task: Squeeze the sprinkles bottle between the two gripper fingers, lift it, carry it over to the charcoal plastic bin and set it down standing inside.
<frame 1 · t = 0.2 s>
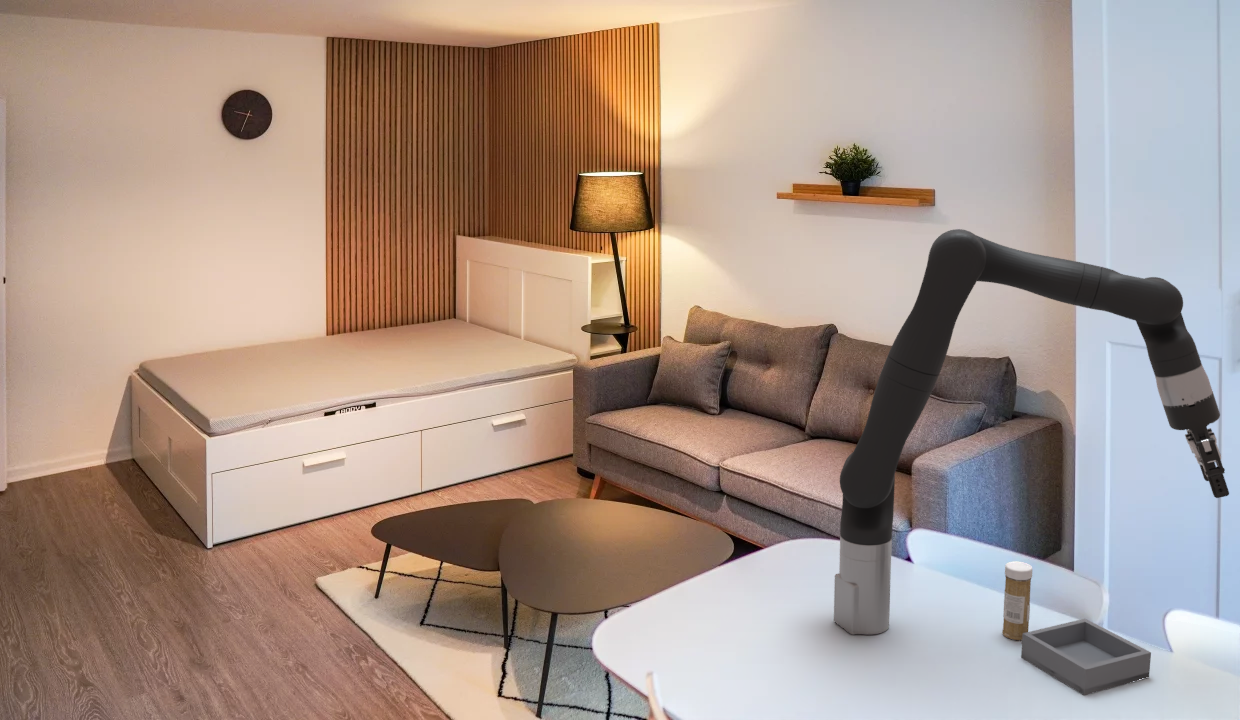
hand: (1217, 487, 172), 31 cm above the table, tool tilted 20°, fingers open, 8 cm apart
sprinkles bottle: (1015, 636, 190), on the table
bin: (1083, 667, 178), on the table
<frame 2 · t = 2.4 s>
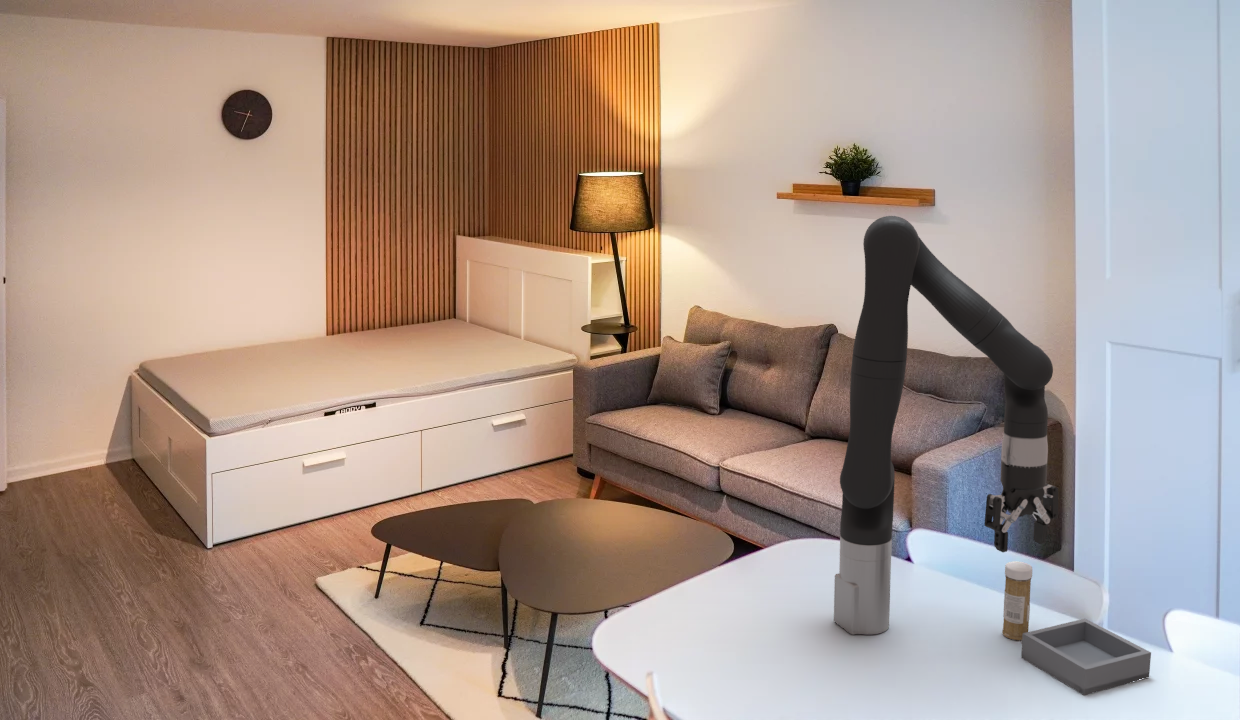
hand: (1020, 546, 186), 17 cm above the table, tool pointing down, fingers open, 8 cm apart
nothing on the table moved.
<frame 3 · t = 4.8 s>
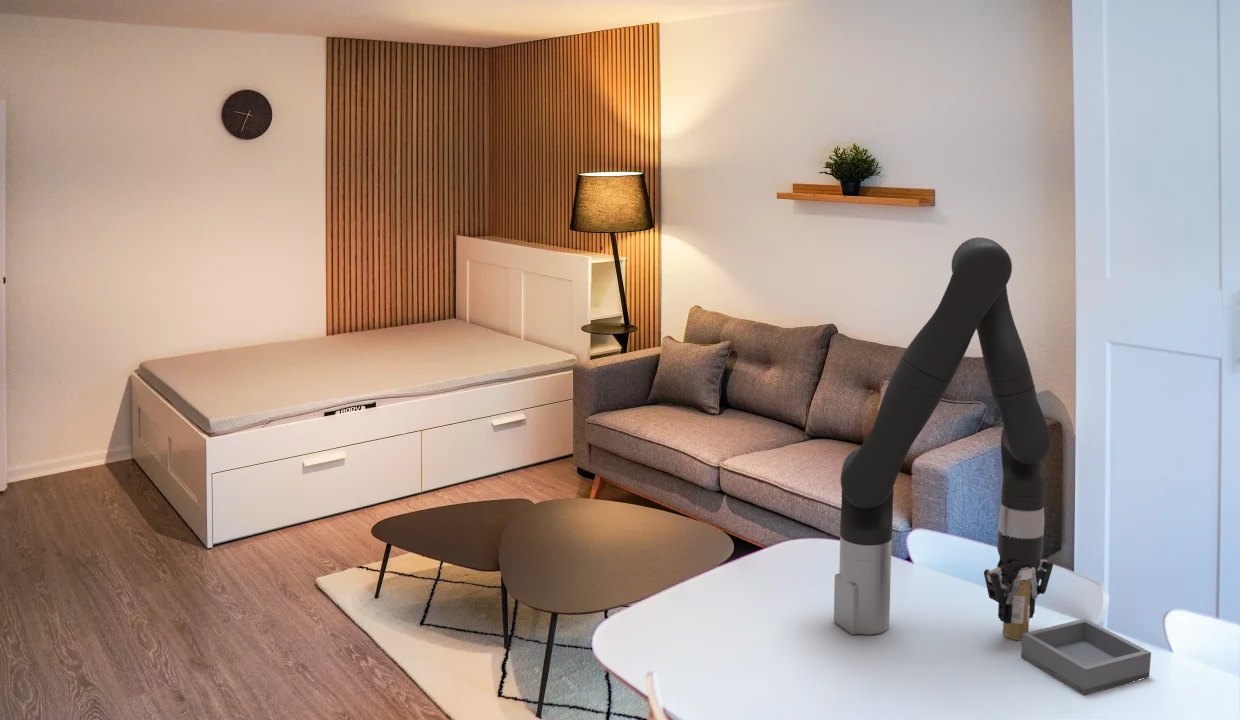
hand: (1015, 618, 189), 3 cm above the table, tool pointing down, fingers closed on sprinkles bottle, 4 cm apart
sprinkles bottle: (1015, 636, 190), on the table, touching gripper
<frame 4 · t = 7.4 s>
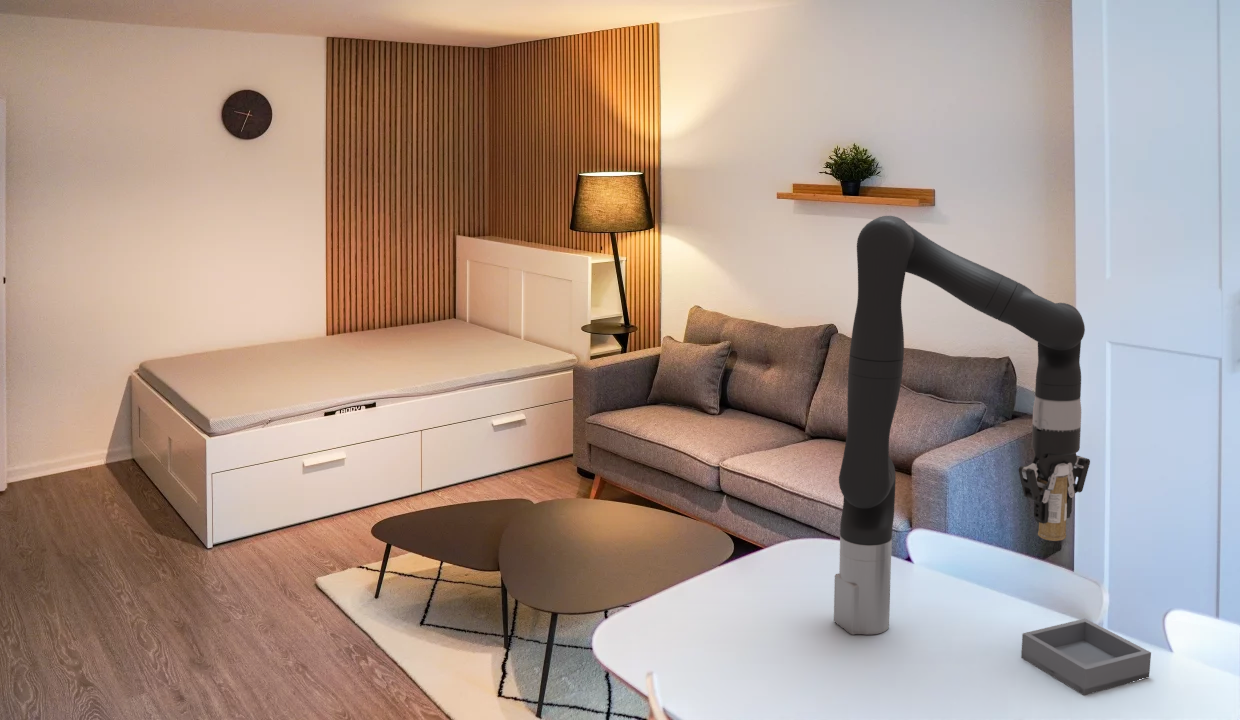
hand: (1052, 519, 180), 24 cm above the table, tool pointing down, fingers closed on sprinkles bottle, 4 cm apart
sprinkles bottle: (1051, 538, 181), point 20 cm above the table, touching gripper
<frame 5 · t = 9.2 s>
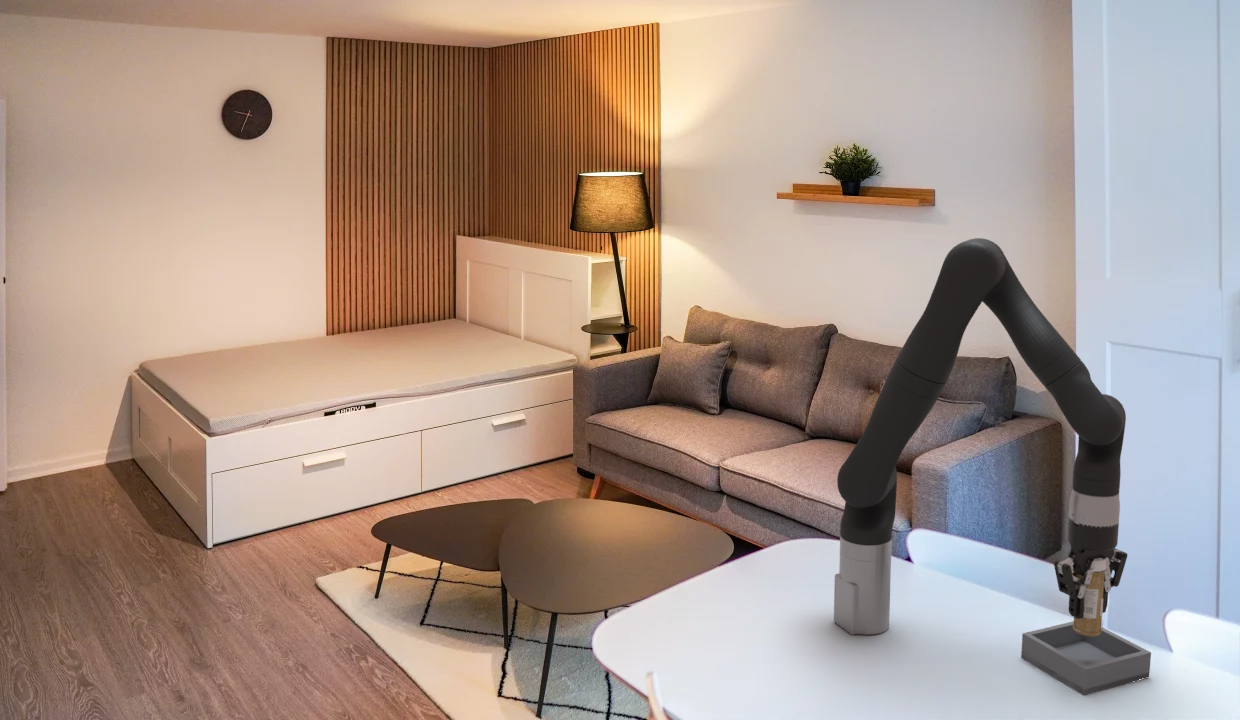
hand: (1087, 613, 176), 10 cm above the table, tool pointing down, fingers closed on sprinkles bottle, 4 cm apart
sprinkles bottle: (1086, 632, 176), point 6 cm above the table, touching gripper
when the fingers open (5 cm above the table, at t = 10.5 s): sprinkles bottle drops 1 cm, resting on bin.
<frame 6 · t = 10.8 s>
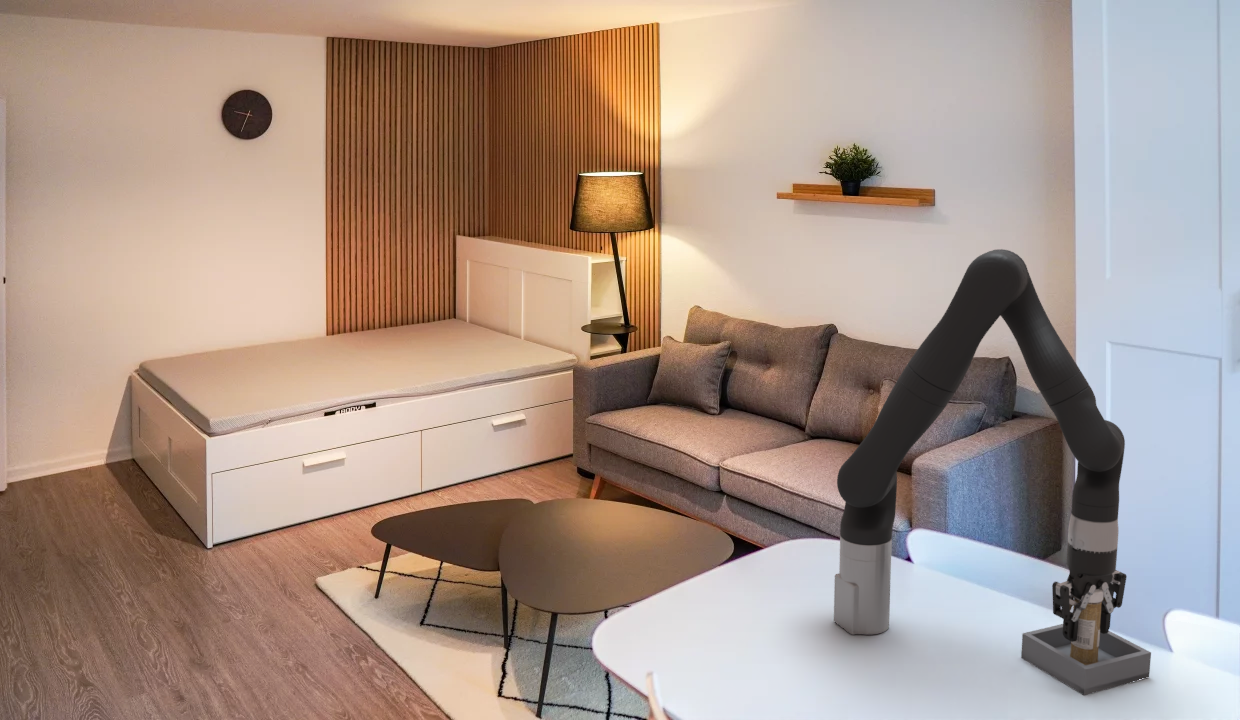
hand: (1085, 635, 177), 6 cm above the table, tool pointing down, fingers open, 6 cm apart
sprinkles bottle: (1083, 662, 178), point 1 cm above the table, touching bin
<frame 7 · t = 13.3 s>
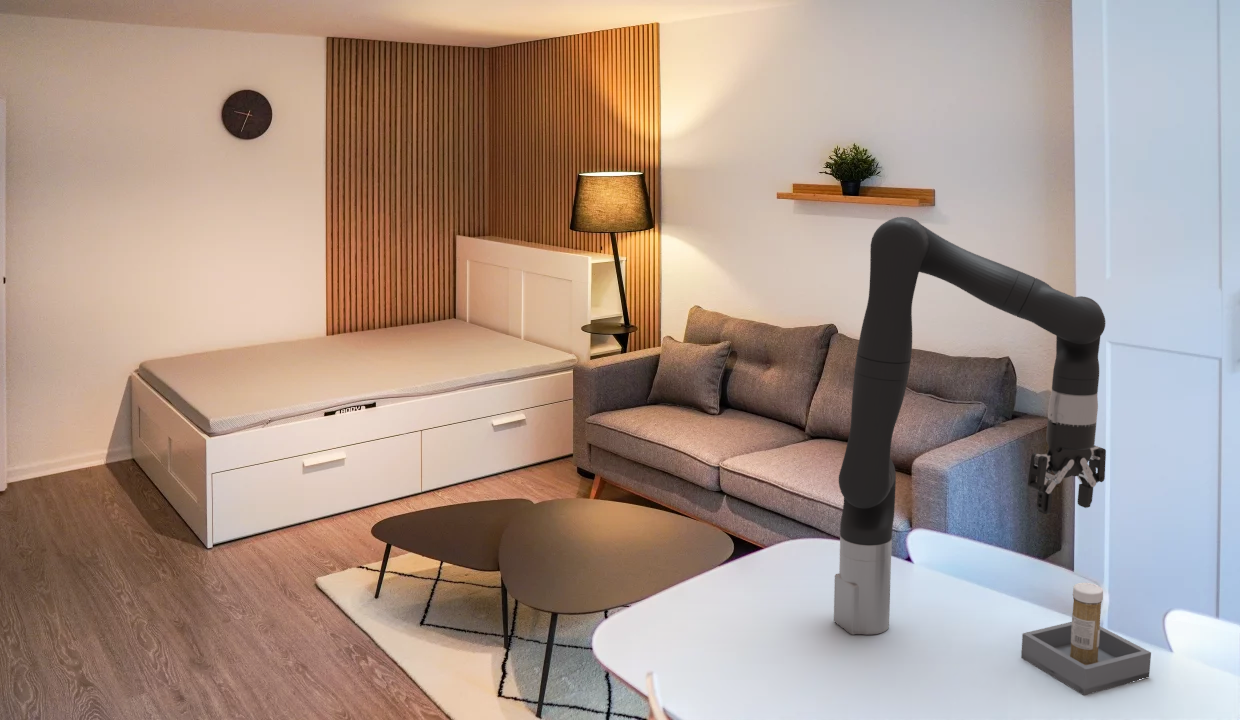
hand: (1063, 509, 179), 26 cm above the table, tool pointing down, fingers open, 8 cm apart
nothing on the table moved.
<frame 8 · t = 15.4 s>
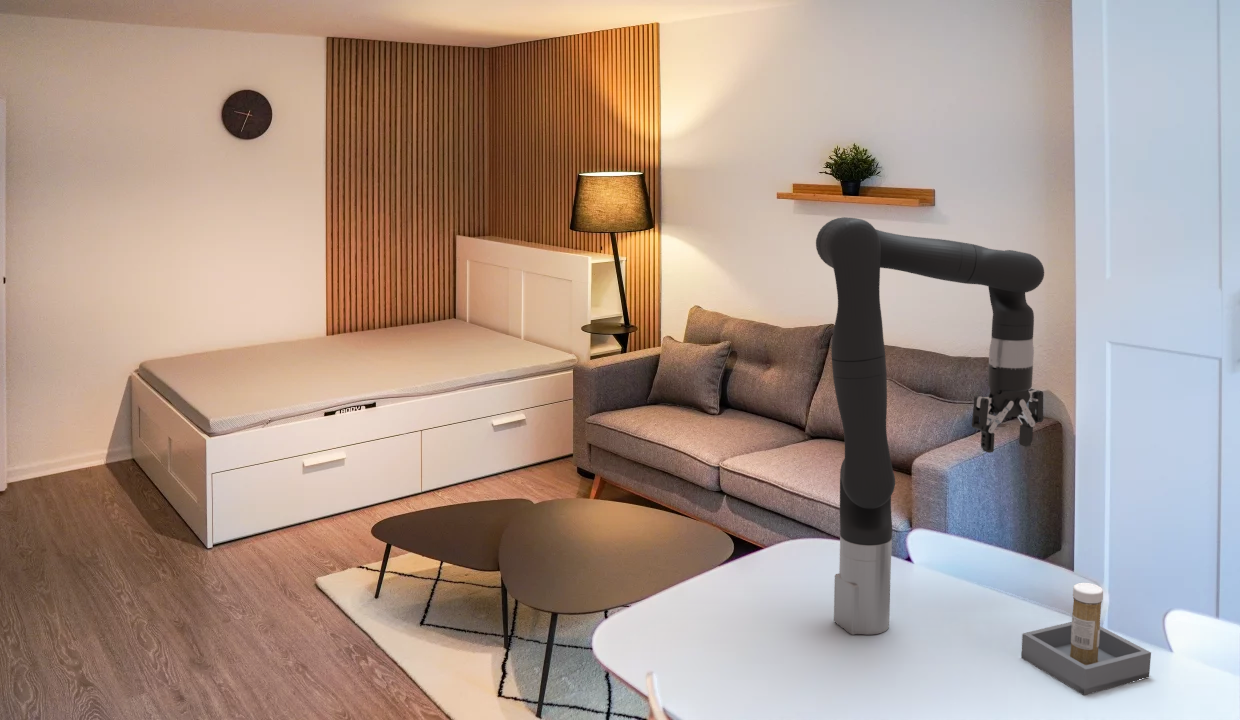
hand: (1006, 448, 193), 32 cm above the table, tool pointing down, fingers open, 8 cm apart
nothing on the table moved.
at the end: sprinkles bottle inside the target area on the bin (0.1 cm from its centre), point 0.8 cm above the bin's base; sprinkles bottle tilted 0°; the gripper is holding nothing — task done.
